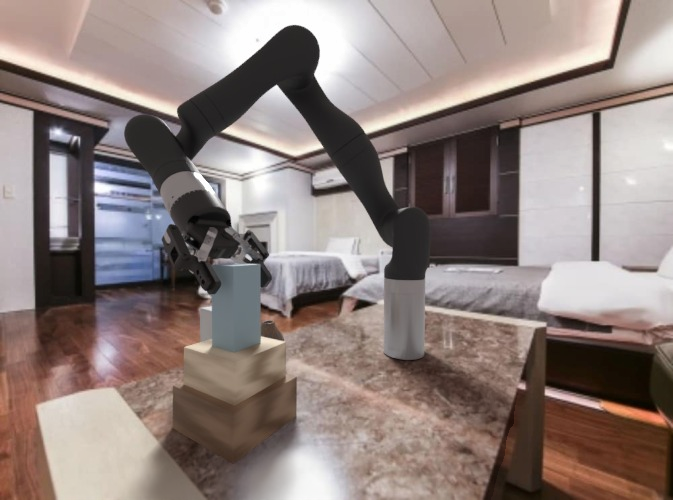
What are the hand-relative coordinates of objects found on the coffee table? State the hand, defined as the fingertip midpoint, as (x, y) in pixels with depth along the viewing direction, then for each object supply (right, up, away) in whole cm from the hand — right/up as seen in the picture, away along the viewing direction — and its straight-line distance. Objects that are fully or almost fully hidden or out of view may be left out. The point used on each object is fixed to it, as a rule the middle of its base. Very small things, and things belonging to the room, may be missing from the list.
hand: (244, 286), depth 40 cm
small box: (-8, -19, +15) cm, 25 cm away
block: (-1, -8, +1) cm, 8 cm away
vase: (-2, -19, +21) cm, 28 cm away
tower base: (-1, -19, +1) cm, 19 cm away
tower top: (-1, -13, +1) cm, 13 cm away
